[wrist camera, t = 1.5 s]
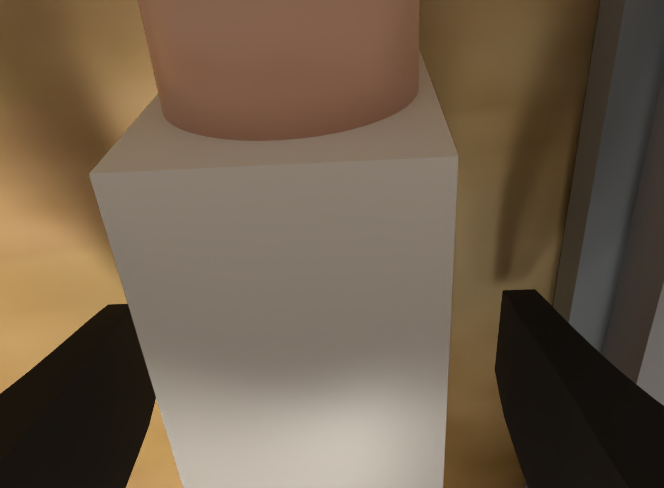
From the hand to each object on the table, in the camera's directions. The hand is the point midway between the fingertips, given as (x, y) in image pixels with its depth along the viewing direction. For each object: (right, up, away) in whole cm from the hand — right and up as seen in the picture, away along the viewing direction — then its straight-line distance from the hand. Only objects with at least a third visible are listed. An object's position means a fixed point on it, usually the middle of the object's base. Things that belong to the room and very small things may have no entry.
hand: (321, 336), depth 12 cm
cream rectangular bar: (0, +1, +1) cm, 2 cm away
